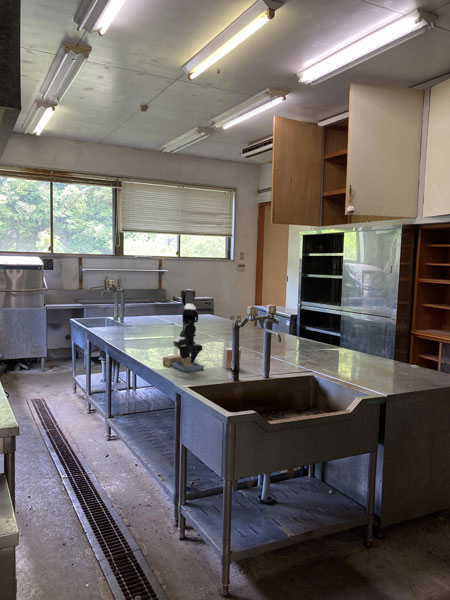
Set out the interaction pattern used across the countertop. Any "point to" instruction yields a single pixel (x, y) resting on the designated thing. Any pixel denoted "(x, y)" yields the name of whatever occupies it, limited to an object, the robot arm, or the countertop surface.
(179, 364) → the tray
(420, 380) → the countertop surface
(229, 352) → the small box
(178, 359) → the oak cube
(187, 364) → the oak cube
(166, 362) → the oak cube
